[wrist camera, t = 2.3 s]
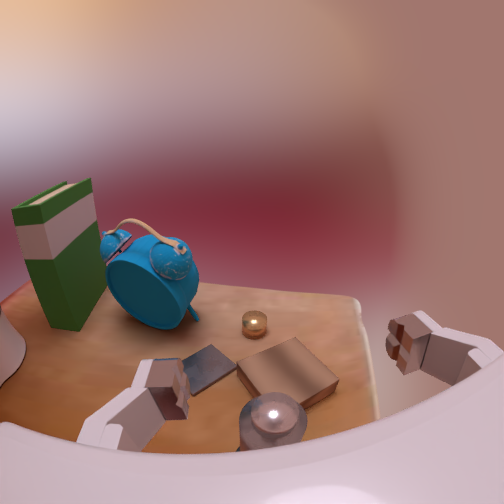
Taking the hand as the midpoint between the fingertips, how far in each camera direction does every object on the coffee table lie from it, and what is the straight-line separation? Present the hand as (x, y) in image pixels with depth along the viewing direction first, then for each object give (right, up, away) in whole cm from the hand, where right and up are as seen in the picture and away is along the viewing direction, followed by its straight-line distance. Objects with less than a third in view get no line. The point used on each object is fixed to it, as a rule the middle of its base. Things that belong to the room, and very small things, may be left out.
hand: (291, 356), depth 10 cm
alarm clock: (-18, -9, +37) cm, 42 cm away
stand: (+3, -15, +25) cm, 29 cm away
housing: (0, -20, +14) cm, 25 cm away
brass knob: (-1, -10, +36) cm, 37 cm away
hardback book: (-37, -7, +39) cm, 55 cm away
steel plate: (-9, -14, +28) cm, 32 cm away
